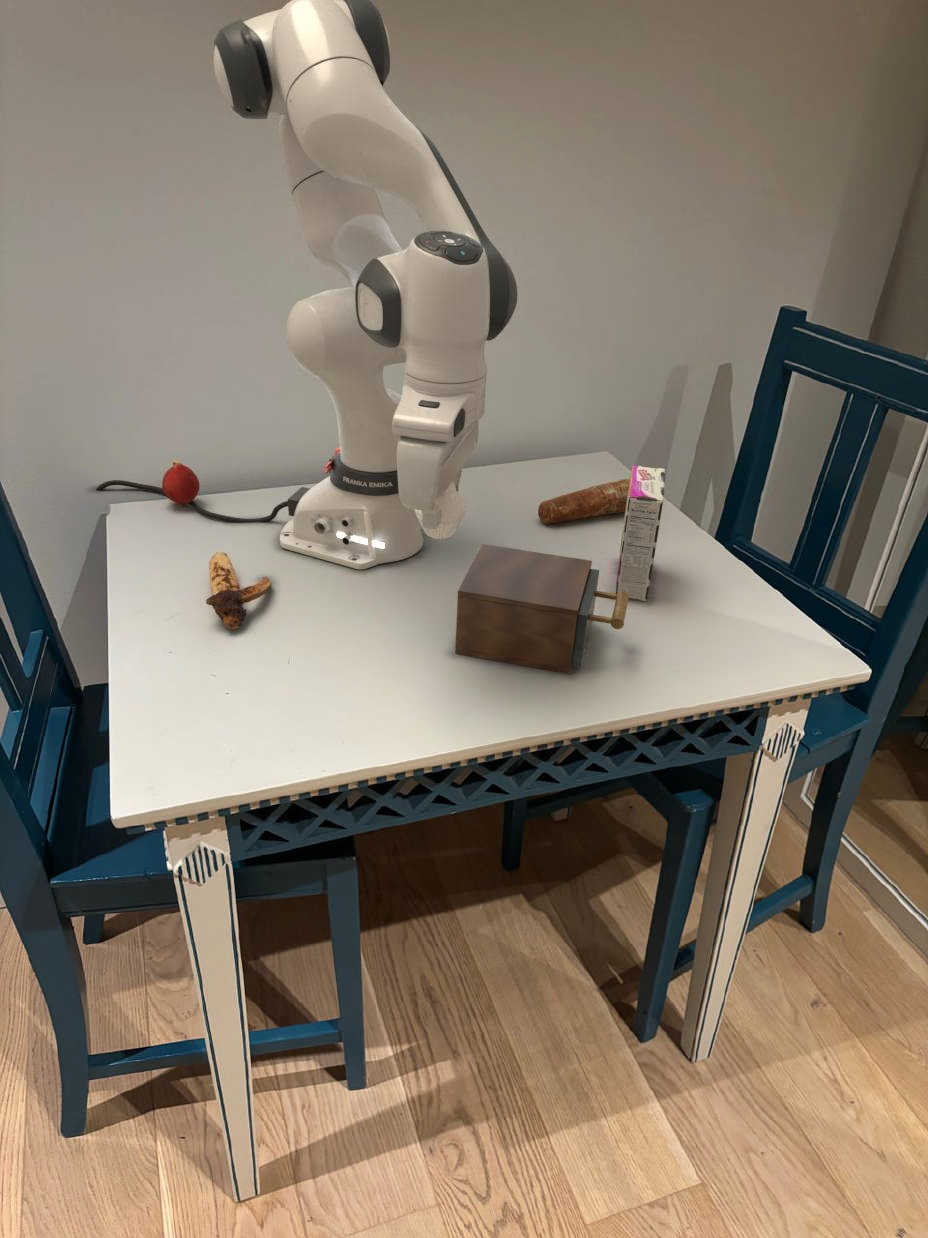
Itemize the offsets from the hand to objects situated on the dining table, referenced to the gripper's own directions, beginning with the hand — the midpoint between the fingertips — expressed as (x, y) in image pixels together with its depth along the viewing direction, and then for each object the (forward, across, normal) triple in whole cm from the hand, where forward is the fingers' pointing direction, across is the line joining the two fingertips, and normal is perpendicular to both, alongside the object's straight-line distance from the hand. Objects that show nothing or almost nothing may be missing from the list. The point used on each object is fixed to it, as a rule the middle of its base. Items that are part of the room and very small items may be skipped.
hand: (440, 512), depth 104 cm
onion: (+22, -29, -52) cm, 64 cm away
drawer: (+20, -8, +14) cm, 25 cm away
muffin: (+3, 0, 0) cm, 3 cm away
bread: (+21, -48, +13) cm, 54 cm away
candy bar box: (+21, -28, +22) cm, 41 cm away
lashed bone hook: (+21, -5, -30) cm, 37 cm away
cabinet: (+21, -8, +10) cm, 24 cm away
